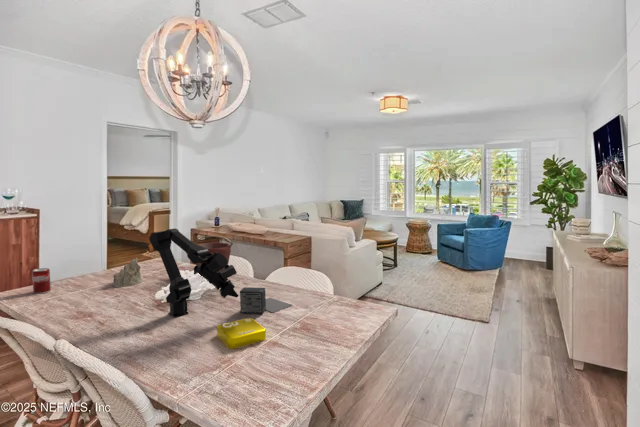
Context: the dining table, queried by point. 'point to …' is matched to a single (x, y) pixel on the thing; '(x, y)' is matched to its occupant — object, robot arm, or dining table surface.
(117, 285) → the jagged grey rock
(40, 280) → the soda can
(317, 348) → the dining table surface
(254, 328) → the element tile
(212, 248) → the bucket
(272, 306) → the dark rubber mat
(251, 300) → the small box
